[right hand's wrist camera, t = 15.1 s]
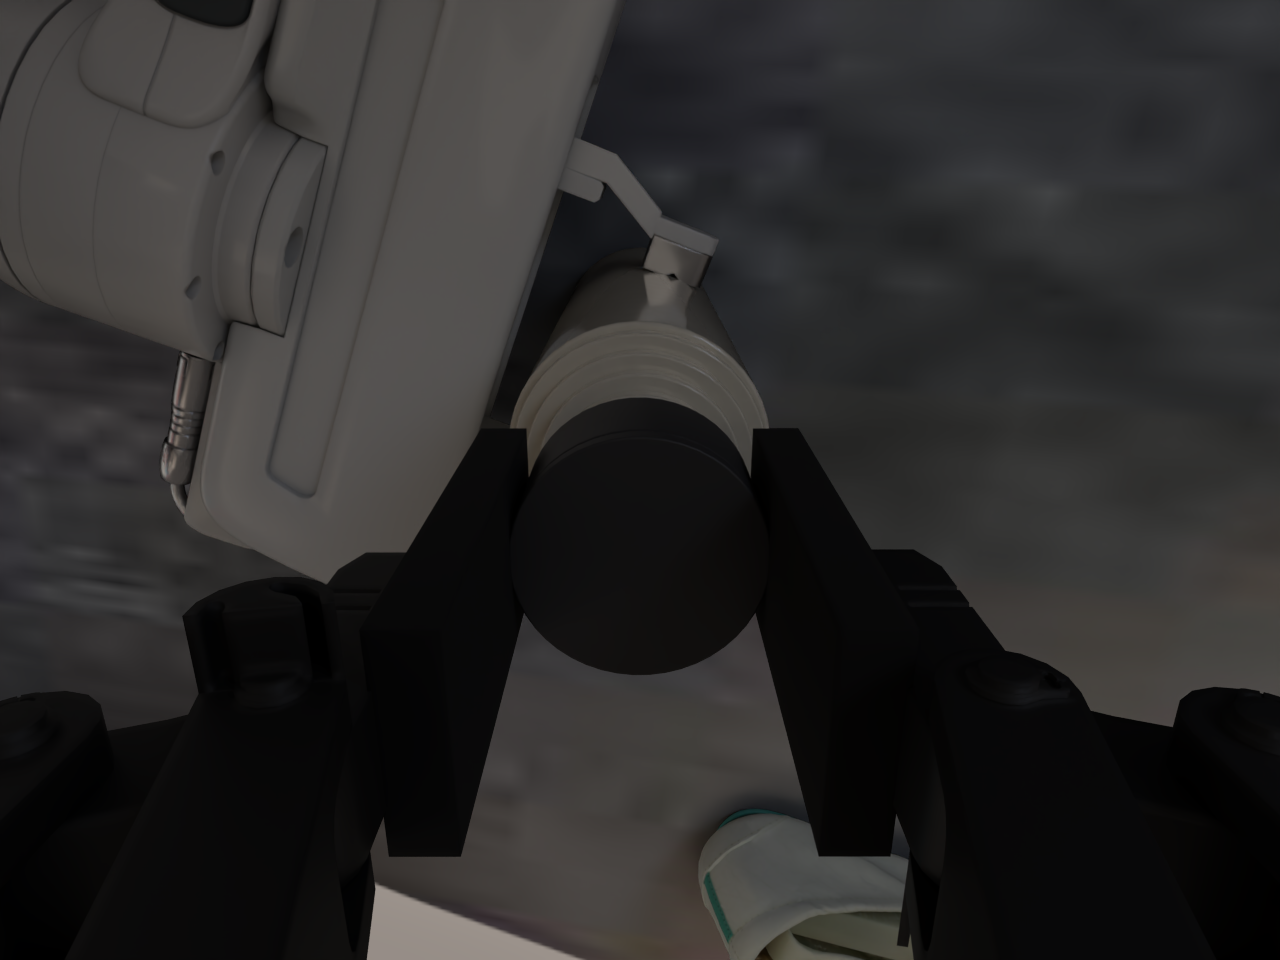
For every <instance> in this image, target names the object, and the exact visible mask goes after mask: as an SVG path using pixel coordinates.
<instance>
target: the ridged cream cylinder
mask: <svg viewBox="0 0 1280 960" xmlns="http://www.w3.org/2000/svg"><path fill="white" fill-rule="evenodd" d="M646 250H647V248H629V249H624V250H620V251H617V252H614V253H612V254H609V255H608V256H606V257H604V258H602V259H601V260H599V261H598V262H597V263H595V264H594V265H593V266H592V267H591V268H590V269H589V270H588V271H587V272H586V273H585V274H584V276H583V277H582V278H581V280H580V281H579V283H578V285H577V287H576V288H575V290H574V292H573V294H572V296H571V298H570V300H569V302H568V304H567V306H566V307H565V309H564V311H563V313H562V315H561V317H560V319H559V321H558V323H557V325H556V327H555V328H554V330H553V332H552V334H551V336H550V338H549V340H548V342H547V344H546V346H545V348H544V349H543V351H542V353H541V355H540V357H539V359H538V361H537V363H536V365H535V367H534V368H533V370H532V372H531V374H530V376H529V378H528V380H527V382H526V384H525V386H524V388H523V389H522V391H521V394H520V396H519V398H518V401H517V403H516V406H515V408H514V412H513V416H512V420H511V424H510V428H526V429H527V449H528V470H529V476H530V473H531V471H532V468H533V466H534V463H535V461H536V459H537V457H538V455H539V453H540V451H541V450H542V448H543V447H544V445H545V444H546V443H547V441H548V440H549V439H550V437H551V436H552V435H553V434H554V433H555V432H556V431H557V430H558V429H559V428H560V427H561V426H562V425H564V424H565V423H566V422H568V421H569V420H570V419H571V418H573V417H574V416H576V415H578V414H580V413H581V412H583V411H585V410H587V409H589V408H592V407H594V406H596V405H599V404H602V403H605V402H609V401H613V400H617V399H624V398H644V397H646V398H655V399H662V400H666V401H670V402H675V403H678V404H680V405H683V406H685V407H688V408H691V409H692V410H694V411H696V412H698V413H700V414H702V415H703V416H705V417H706V418H708V419H709V420H710V421H712V422H713V423H714V424H716V425H717V426H718V427H719V428H720V429H721V430H722V431H723V432H724V433H725V434H726V435H727V436H728V437H729V438H730V440H731V441H732V442H733V444H734V445H735V446H736V448H737V449H738V451H739V453H740V454H741V456H742V458H743V460H744V462H745V465H746V467H747V470H748V472H749V475H750V478H751V458H752V437H753V428H769V423H768V417H767V414H766V411H765V408H764V405H763V402H762V399H761V397H760V395H759V393H758V391H757V389H756V387H755V385H754V383H753V381H752V379H751V377H750V375H749V374H748V372H747V370H746V368H745V366H744V364H743V362H742V360H741V358H740V356H739V354H738V353H737V351H736V349H735V347H734V345H733V343H732V341H731V339H730V337H729V335H728V334H727V332H726V330H725V328H724V326H723V324H722V322H721V320H720V318H719V316H718V314H717V313H716V311H715V309H714V307H713V305H712V303H711V301H710V299H709V297H708V295H707V294H706V292H705V290H704V288H703V286H702V284H701V286H700V288H696V287H692V286H689V285H687V284H685V283H684V282H682V281H680V280H678V279H677V277H676V276H675V274H670V275H664V274H660V273H656V272H653V271H651V270H648V269H646V268H643V259H644V256H645V253H646Z"/></svg>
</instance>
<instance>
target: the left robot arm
mask: <svg viewBox="0 0 1280 960" xmlns="http://www.w3.org/2000/svg"><path fill="white" fill-rule="evenodd" d="M625 2H626V0H0V279H1V280H2V281H3V282H5V283H6V284H8V285H10V286H11V287H13V288H14V289H16V290H18V291H19V292H21V293H23V294H24V295H27V296H29V297H31V298H33V299H35V300H38V301H41V302H43V303H46V304H49V305H51V306H55V307H58V308H61V309H63V310H66V311H69V312H72V313H75V314H77V315H80V316H83V317H86V318H89V319H92V320H95V321H97V322H100V323H103V324H106V325H109V326H112V327H115V328H117V329H120V330H123V331H126V332H129V333H132V334H135V335H137V336H140V337H143V338H145V339H148V340H151V341H154V342H157V343H160V344H163V345H166V346H168V347H171V348H174V349H177V350H180V353H179V357H178V362H177V369H176V374H175V380H174V385H173V392H172V400H171V401H172V403H171V410H172V411H171V419H170V427H169V431H168V436H167V437H166V438H165V439H164V442H163V445H162V449H161V453H160V476H161V478H162V479H163V480H164V481H166V482H168V483H170V489H171V494H172V497H173V499H174V502H175V504H176V506H177V508H178V509H179V511H180V512H181V514H182V515H183V516H184V518H185V521H186V523H187V524H188V525H189V526H190V527H192V528H193V529H195V530H196V531H198V532H200V533H202V534H204V535H206V536H209V537H212V538H216V539H219V540H222V541H225V542H228V543H231V544H234V545H237V546H240V547H243V548H248V549H254V550H256V551H258V552H260V553H262V554H263V555H265V556H267V557H269V558H271V559H273V560H275V561H277V562H279V563H281V564H283V565H285V566H288V567H290V568H292V569H294V570H296V571H298V572H300V573H302V574H305V575H307V576H309V577H311V578H314V579H316V580H318V581H320V582H323V583H325V584H327V583H328V582H329V581H330V579H331V578H332V577H333V575H334V574H335V573H336V571H337V570H338V569H340V568H341V567H343V566H344V565H346V564H348V563H349V562H351V561H353V560H354V559H356V558H358V557H359V556H361V555H363V554H364V553H366V552H407V550H408V549H409V547H410V545H411V544H412V542H413V540H414V539H415V537H416V535H417V534H418V532H419V530H420V529H421V527H422V525H423V524H424V522H425V520H426V519H427V517H428V515H429V514H430V512H431V511H432V509H433V507H434V506H435V504H436V502H437V501H438V499H439V497H440V496H441V494H442V492H443V491H444V489H445V487H446V486H447V484H448V482H449V481H450V479H451V477H452V476H453V474H454V472H455V471H456V469H457V467H458V466H459V464H460V463H461V461H462V459H463V458H464V456H465V454H466V453H467V451H468V449H469V448H470V446H471V444H472V443H473V441H474V439H475V438H476V436H477V434H478V433H479V431H480V429H481V428H510V425H508V424H505V423H502V422H500V421H497V420H494V419H492V418H490V415H491V412H492V409H493V406H494V403H495V400H496V397H497V394H498V391H499V387H500V384H501V381H502V378H503V375H504V372H505V369H506V366H507V363H508V360H509V357H510V354H511V351H512V348H513V345H514V342H515V339H516V336H517V332H518V329H519V326H520V323H521V320H522V317H523V314H524V311H525V308H526V305H527V302H528V299H529V296H530V293H531V290H532V287H533V284H534V281H535V277H536V274H537V271H538V268H539V265H540V262H541V259H542V256H543V253H544V250H545V247H546V244H547V241H548V238H549V235H550V232H551V229H552V226H553V222H554V219H555V216H556V213H557V210H558V207H559V204H560V201H561V198H562V195H563V192H564V191H565V192H568V193H570V194H573V195H576V196H578V197H581V198H583V199H586V200H589V201H591V202H594V203H595V202H596V201H598V200H600V199H601V198H602V197H603V194H604V192H605V189H606V183H607V184H608V186H609V187H610V188H611V189H612V191H613V192H614V193H615V194H616V196H617V197H618V198H619V199H620V201H621V202H622V203H623V204H624V206H625V207H626V208H627V209H628V211H629V212H630V213H631V214H632V216H633V217H634V218H635V219H636V221H637V222H638V223H639V224H640V226H641V227H642V228H643V229H644V230H645V232H646V233H647V234H648V235H649V237H650V238H651V239H650V241H649V244H648V247H647V250H646V253H645V256H644V259H643V268H646V269H648V270H651V271H653V272H656V273H660V274H664V275H670V274H675V276H676V277H677V279H678V280H680V281H682V282H684V283H685V284H687V285H689V286H692V287H696V288H700V286H701V284H702V281H703V279H704V276H705V274H706V272H707V269H708V267H709V264H710V262H711V260H712V256H713V254H714V252H715V249H716V247H717V244H718V242H719V239H718V238H717V237H715V236H713V235H711V234H709V233H707V232H705V231H702V230H699V229H697V228H694V227H692V226H689V225H687V224H684V223H682V222H679V221H677V220H674V219H672V218H669V217H667V216H664V215H662V211H661V209H660V208H659V207H658V205H657V204H656V203H655V202H654V200H653V199H652V198H651V196H650V195H649V194H648V193H647V191H646V190H645V189H644V188H643V186H642V185H641V184H640V182H639V181H638V180H637V179H636V177H635V176H634V175H633V173H632V172H631V171H630V170H629V168H628V167H627V166H626V165H625V163H624V162H623V161H622V159H621V158H620V157H619V156H618V155H617V154H615V153H612V152H610V151H607V150H605V149H603V148H600V147H598V146H595V145H593V144H590V143H588V142H586V141H583V140H581V137H582V134H583V131H584V128H585V125H586V122H587V119H588V116H589V112H590V109H591V106H592V103H593V100H594V97H595V94H596V91H597V88H598V85H599V82H600V79H601V76H602V73H603V70H604V67H605V64H606V61H607V57H608V54H609V51H610V48H611V45H612V42H613V39H614V36H615V33H616V30H617V27H618V24H619V21H620V18H621V15H622V11H623V8H624V5H625ZM190 483H191V484H190ZM187 484H190V489H189V494H188V497H187V494H186V491H185V485H187Z"/></svg>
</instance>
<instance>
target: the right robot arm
mask: <svg viewBox="0 0 1280 960" xmlns="http://www.w3.org/2000/svg"><path fill="white" fill-rule="evenodd" d="M528 479H529V470H528V449H527V429H526V428H481V429H480V431H479V433H478V434H477V436H476V438H475V439H474V441H473V443H472V444H471V446H470V448H469V449H468V451H467V453H466V454H465V456H464V458H463V459H462V461H461V463H460V464H459V466H458V467H457V469H456V471H455V472H454V474H453V476H452V477H451V479H450V481H449V482H448V484H447V486H446V487H445V489H444V491H443V492H442V494H441V496H440V497H439V499H438V501H437V502H436V504H435V506H434V507H433V509H432V511H431V512H430V514H429V515H428V517H427V519H426V520H425V522H424V524H423V525H422V527H421V529H420V530H419V532H418V534H417V535H416V537H415V539H414V540H413V542H412V544H411V545H410V547H409V549H408V550H407V552H366V553H364V554H363V555H361V556H359V557H358V558H356V559H354V560H353V561H351V562H349V563H348V564H346V565H344V566H343V567H341V568H340V569H338V570H337V571H336V573H335V574H334V575H333V577H332V578H331V579H330V581H329V582H328V583H327V585H325V584H323V583H322V582H319V581H315V580H311V579H306V578H302V577H273V578H267V579H260V580H254V581H248V582H244V583H241V584H238V585H235V586H231V587H228V588H225V589H222V590H219V591H217V592H215V593H213V594H211V595H209V596H208V597H206V598H204V599H202V600H200V601H198V602H196V603H195V604H194V605H193V606H192V607H191V608H190V609H189V610H188V611H187V612H186V613H185V614H184V615H183V616H182V617H183V621H184V626H185V631H186V636H187V640H188V645H189V650H190V654H191V659H192V664H193V668H194V673H195V678H196V683H197V687H198V692H199V694H198V696H197V698H196V700H195V702H194V704H193V706H192V708H191V710H190V712H189V714H188V715H185V716H181V717H177V718H173V719H169V720H164V721H159V722H153V723H148V724H143V725H137V726H132V727H127V728H121V729H116V730H111V731H107V728H106V724H105V720H104V716H103V713H102V709H101V705H100V704H99V703H98V702H97V701H95V700H94V699H93V698H91V697H90V696H89V695H86V694H80V693H74V692H69V691H60V692H47V693H31V694H25V695H21V697H20V698H17V696H16V697H13V698H9V699H6V700H2V701H0V960H367V953H368V945H369V937H370V929H371V920H372V912H373V904H374V896H375V882H374V875H373V868H372V861H371V854H370V850H371V847H372V845H373V842H374V840H375V837H376V834H377V832H378V829H379V827H380V824H381V822H382V819H383V817H384V823H385V830H386V838H387V845H388V853H389V857H461V854H462V850H463V846H464V842H465V838H466V834H467V831H468V827H469V823H470V819H471V815H472V811H473V807H474V804H475V800H476V796H477V792H478V788H479V784H480V780H481V776H482V773H483V769H484V765H485V761H486V757H487V753H488V749H489V746H490V742H491V738H492V734H493V730H494V726H495V722H496V718H497V715H498V711H499V707H500V703H501V699H502V695H503V691H504V688H505V684H506V680H507V676H508V672H509V668H510V664H511V660H512V657H513V653H514V649H515V645H516V641H517V637H518V633H519V630H520V626H521V622H522V618H523V614H524V611H523V609H522V608H521V606H520V604H519V602H518V600H517V597H516V594H515V592H514V589H513V586H512V575H511V558H510V533H511V529H512V524H513V521H514V519H515V516H516V513H517V510H518V507H519V504H520V502H521V499H522V496H523V493H524V490H525V488H526V485H527V482H528ZM751 481H752V483H753V486H754V489H755V492H756V494H757V497H758V500H759V503H760V506H761V508H762V511H763V514H764V517H765V520H766V523H767V527H768V531H769V535H770V546H769V564H768V580H767V587H766V590H765V593H764V596H763V599H762V601H761V603H760V605H759V607H758V609H757V611H756V616H757V620H758V624H759V628H760V632H761V636H762V639H763V643H764V647H765V651H766V655H767V659H768V663H769V667H770V670H771V674H772V678H773V682H774V686H775V690H776V694H777V697H778V701H779V705H780V709H781V713H782V717H783V721H784V725H785V728H786V732H787V736H788V740H789V744H790V748H791V752H792V756H793V759H794V763H795V767H796V771H797V775H798V779H799V783H800V786H801V790H802V794H803V798H804V802H805V806H806V810H807V814H808V817H809V821H810V825H811V829H812V833H813V837H814V841H815V844H816V848H817V852H818V856H819V857H890V856H891V849H892V841H893V833H894V826H895V818H896V814H897V816H898V819H899V822H900V824H901V827H902V829H903V832H904V834H905V837H906V839H907V842H908V844H909V847H910V854H909V861H908V868H907V875H906V882H905V890H904V897H903V904H902V911H901V918H900V925H899V932H898V939H897V946H903V947H908V944H909V939H910V935H911V943H912V951H913V959H914V960H1280V697H1279V696H1275V695H1272V694H1268V693H1265V692H1264V693H1263V694H1261V693H1260V692H1259V691H1256V690H1250V689H1244V688H1241V689H1234V688H1221V687H1212V688H1206V689H1200V690H1194V691H1191V692H1190V693H1189V694H1188V695H1186V696H1185V697H1184V698H1182V699H1181V700H1180V702H1179V706H1178V710H1177V714H1176V717H1175V721H1174V725H1173V727H1169V726H1163V725H1158V724H1152V723H1147V722H1142V721H1136V720H1131V719H1126V718H1120V717H1115V716H1110V715H1106V714H1102V713H1098V712H1094V711H1090V709H1089V707H1088V705H1087V703H1086V701H1085V699H1084V697H1083V695H1082V693H1081V692H1080V691H1079V689H1078V688H1077V687H1076V686H1075V685H1074V683H1073V682H1072V681H1071V680H1070V679H1069V678H1068V677H1067V676H1066V675H1064V674H1062V673H1061V672H1059V671H1058V670H1056V669H1055V668H1053V667H1051V666H1050V665H1048V664H1046V663H1044V662H1041V661H1039V660H1036V659H1033V658H1031V657H1028V656H1025V655H1023V654H1019V653H1014V652H1009V651H1005V650H1004V648H1003V647H1002V646H1001V644H1000V643H999V642H998V640H997V639H996V638H995V636H994V635H993V634H992V632H991V631H990V630H989V629H988V627H987V626H986V625H985V623H984V622H983V621H982V619H981V618H980V617H979V615H978V614H977V613H976V611H975V610H974V609H973V607H969V602H968V601H967V599H966V598H965V597H964V595H963V594H962V593H961V591H960V590H957V586H956V585H955V583H954V582H953V581H952V579H951V578H950V577H949V575H948V574H947V573H946V571H945V570H944V569H943V568H942V566H940V565H938V564H937V563H935V562H933V561H932V560H930V559H928V558H927V557H925V556H924V555H922V554H920V553H919V552H917V551H915V550H871V548H870V546H869V545H868V543H867V541H866V540H865V538H864V536H863V535H862V533H861V531H860V530H859V528H858V526H857V525H856V523H855V521H854V520H853V518H852V517H851V515H850V513H849V512H848V510H847V508H846V507H845V505H844V503H843V502H842V500H841V498H840V497H839V495H838V493H837V492H836V490H835V488H834V487H833V485H832V483H831V482H830V480H829V478H828V477H827V475H826V473H825V472H824V470H823V468H822V467H821V465H820V464H819V462H818V460H817V459H816V457H815V455H814V454H813V452H812V450H811V449H810V447H809V445H808V444H807V442H806V440H805V439H804V437H803V435H802V434H801V432H800V430H799V429H798V428H753V437H752V458H751Z"/></svg>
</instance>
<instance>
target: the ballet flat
mask: <svg viewBox="0 0 1280 960" xmlns="http://www.w3.org/2000/svg"><path fill="white" fill-rule="evenodd" d="M908 861H909V860H908V859H906V858H903V857H901V856H898V855H895V854H892V853H891V856H890V857H819V856H818V852H817V848H816V844H815V841H814V837H813V833H812V829H811V825H810V824H809V823H807V822H804V821H802V820H799V819H796V818H793V817H790V816H788V815H785V814H782V813H778V812H774V811H770V810H764V809H746V810H740V811H738V812H736V813H734V814H732V815H731V816H729V817H728V818H727V819H726V820H725V821H724V822H723V823H722V824H721V825H720V826H719V828H718V829H717V831H716V832H715V833H714V834H713V835H712V836H711V837H710V838H709V839H708V841H707V842H706V844H705V846H704V847H703V849H702V852H701V856H700V859H699V868H698V878H699V884H700V889H701V893H702V898H703V902H704V905H705V907H706V908H707V909H708V910H709V912H710V914H711V916H712V917H713V919H714V921H715V924H716V926H717V928H718V931H719V932H720V934H721V937H722V939H723V942H724V945H725V947H726V949H727V951H728V953H729V956H730V960H914V959H913V951H912V943H911V935H910V939H909V944H908V947H903V946H897V939H898V932H899V925H900V918H901V911H902V904H903V897H904V890H905V882H906V875H907V868H908Z"/></svg>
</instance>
